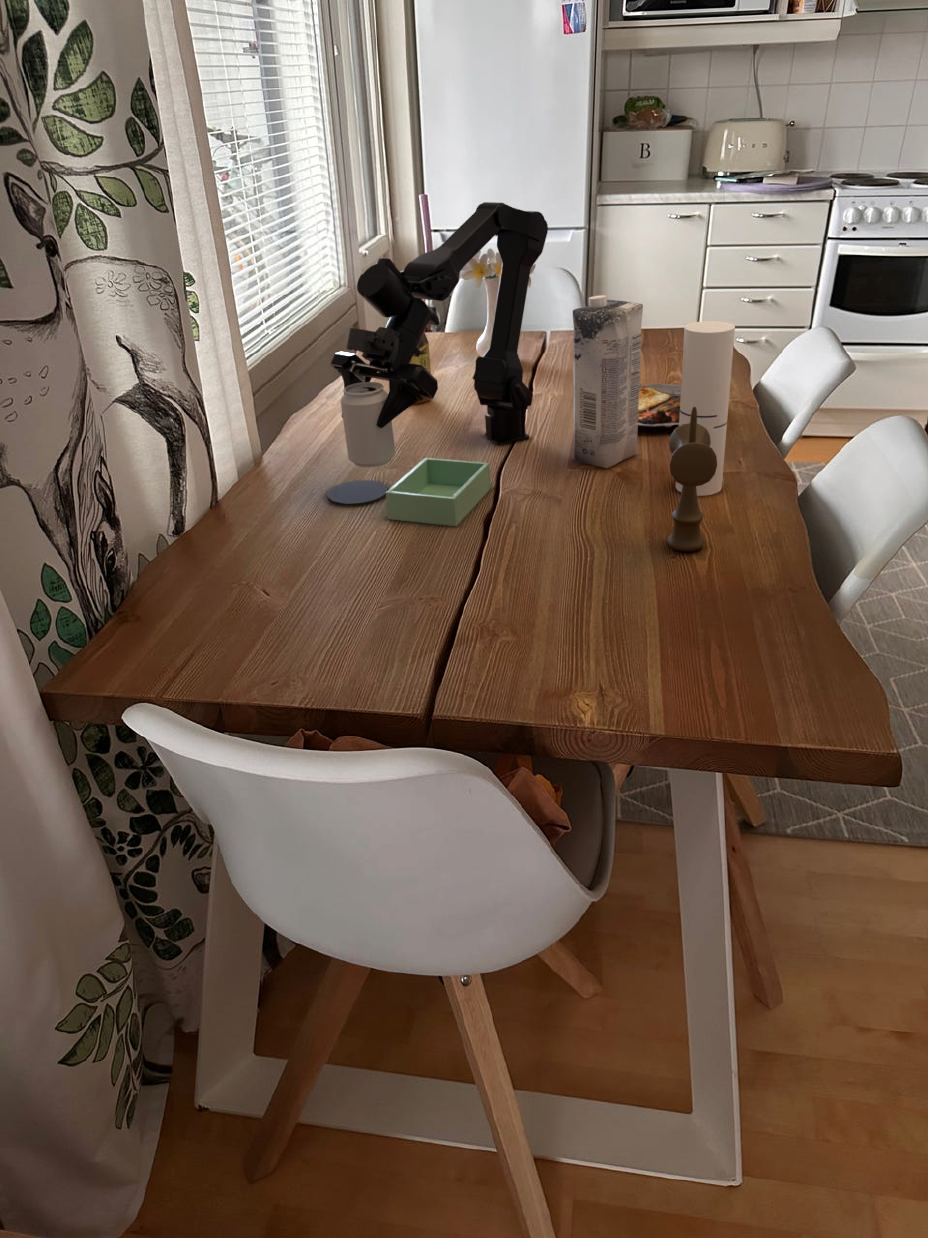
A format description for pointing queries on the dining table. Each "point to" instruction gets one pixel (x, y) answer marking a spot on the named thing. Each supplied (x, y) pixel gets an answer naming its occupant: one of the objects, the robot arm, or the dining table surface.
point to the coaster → (357, 493)
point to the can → (366, 425)
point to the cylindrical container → (708, 387)
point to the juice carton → (606, 380)
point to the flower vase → (487, 289)
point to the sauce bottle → (423, 358)
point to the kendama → (690, 480)
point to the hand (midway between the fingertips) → (361, 422)
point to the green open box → (438, 491)
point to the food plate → (659, 405)
